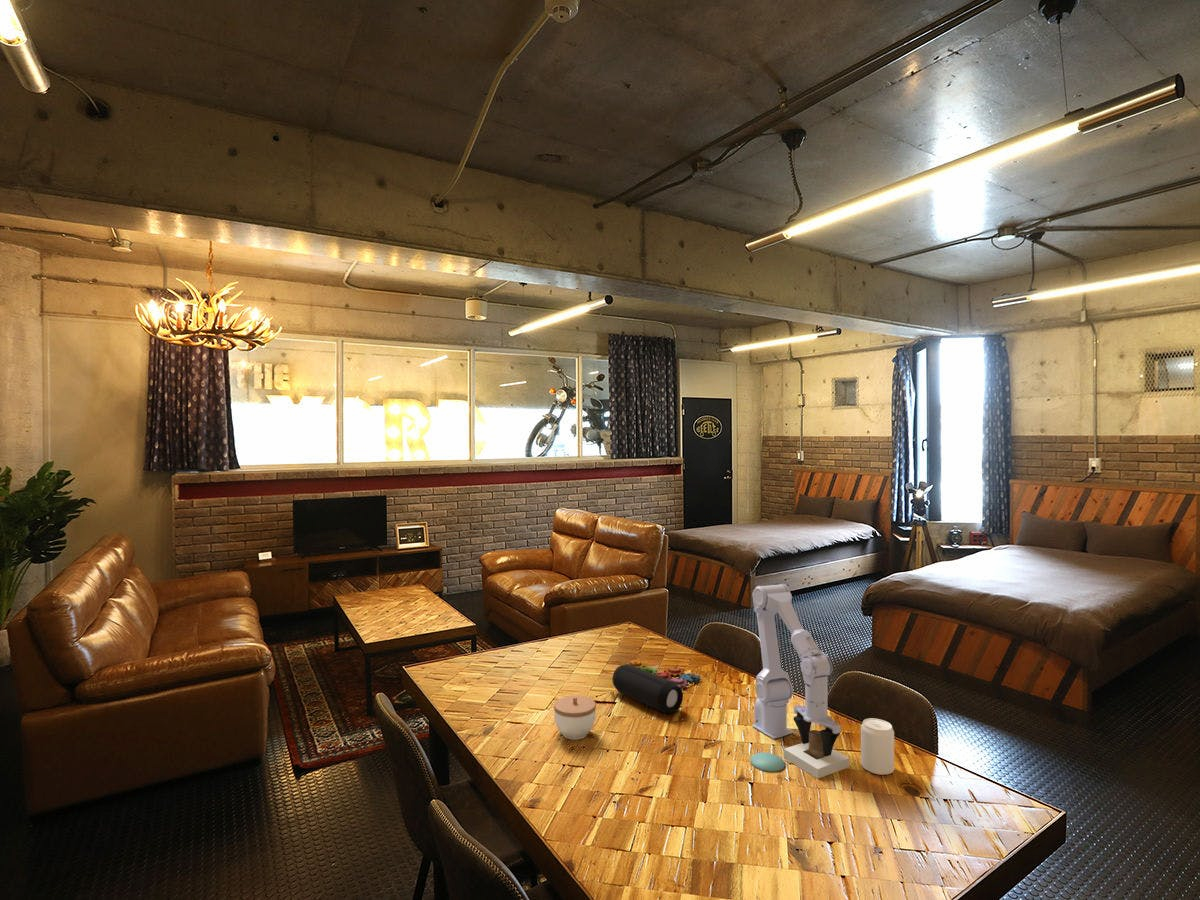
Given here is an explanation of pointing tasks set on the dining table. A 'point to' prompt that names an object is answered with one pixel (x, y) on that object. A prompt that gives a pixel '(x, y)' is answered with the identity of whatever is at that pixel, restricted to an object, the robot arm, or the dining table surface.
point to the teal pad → (767, 762)
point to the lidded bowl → (574, 716)
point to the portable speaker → (648, 688)
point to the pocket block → (816, 767)
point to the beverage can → (877, 746)
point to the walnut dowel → (815, 744)
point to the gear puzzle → (669, 673)
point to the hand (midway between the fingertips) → (816, 748)
